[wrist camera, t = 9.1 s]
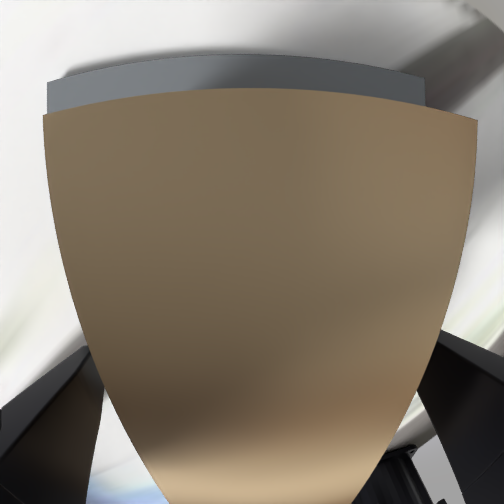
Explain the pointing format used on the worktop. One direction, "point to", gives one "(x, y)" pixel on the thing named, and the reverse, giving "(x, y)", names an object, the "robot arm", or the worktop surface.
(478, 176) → the worktop surface
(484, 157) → the worktop surface
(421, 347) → the oak stool
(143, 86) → the charcoal mat
